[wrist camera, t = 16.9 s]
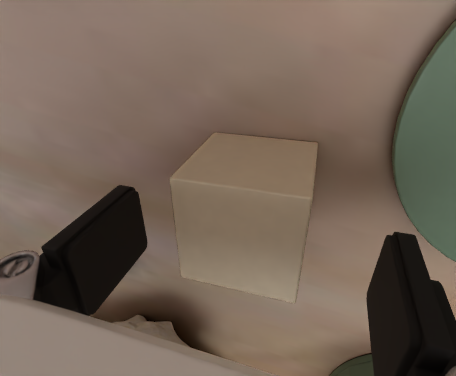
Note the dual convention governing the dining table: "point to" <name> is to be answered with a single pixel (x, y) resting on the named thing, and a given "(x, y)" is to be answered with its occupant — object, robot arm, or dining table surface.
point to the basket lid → (430, 147)
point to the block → (245, 213)
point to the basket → (356, 367)
